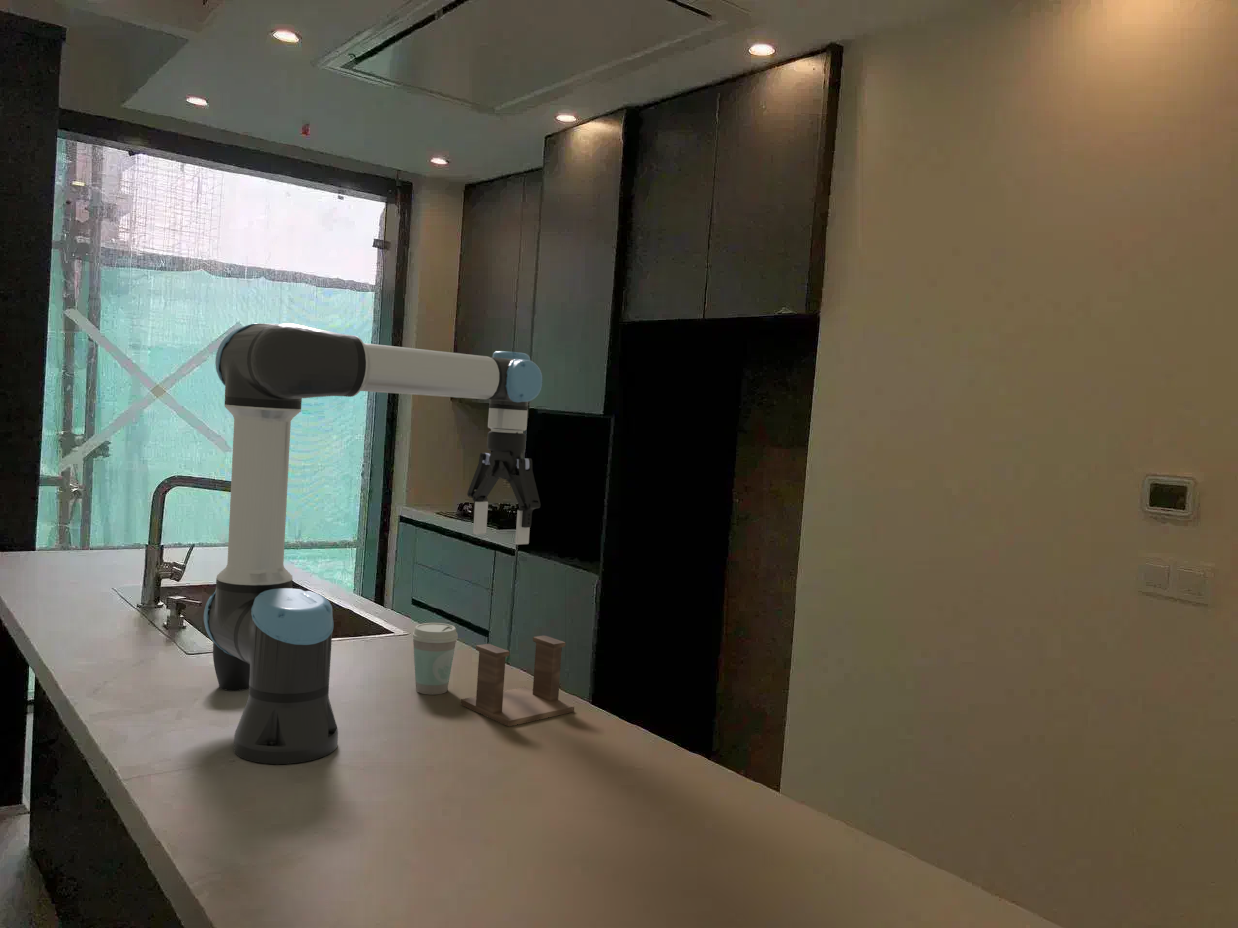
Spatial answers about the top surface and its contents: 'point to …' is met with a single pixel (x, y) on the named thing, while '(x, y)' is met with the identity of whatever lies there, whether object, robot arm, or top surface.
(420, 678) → the coffee cup
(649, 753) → the top surface
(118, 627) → the top surface
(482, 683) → the wooden stand
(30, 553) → the top surface
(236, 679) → the mug
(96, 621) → the top surface
